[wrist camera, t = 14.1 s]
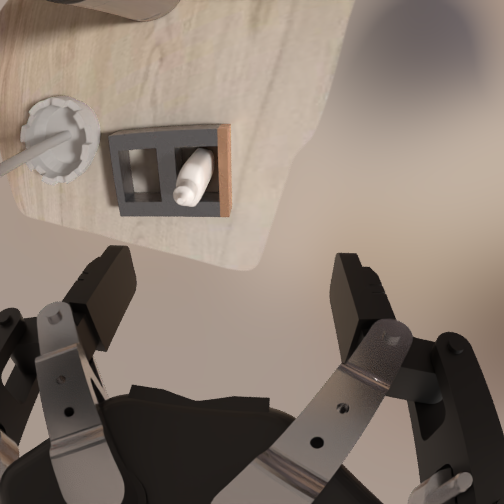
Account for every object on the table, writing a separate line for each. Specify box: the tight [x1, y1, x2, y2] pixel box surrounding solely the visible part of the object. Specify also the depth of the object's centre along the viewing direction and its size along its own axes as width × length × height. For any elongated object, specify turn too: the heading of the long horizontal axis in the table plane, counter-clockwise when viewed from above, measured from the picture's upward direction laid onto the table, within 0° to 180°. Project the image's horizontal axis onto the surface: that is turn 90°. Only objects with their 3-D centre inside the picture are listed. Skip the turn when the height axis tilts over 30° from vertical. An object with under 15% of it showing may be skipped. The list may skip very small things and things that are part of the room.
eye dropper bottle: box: [173, 148, 214, 207], centre depth 38 cm, size 4×6×12 cm
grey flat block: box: [108, 124, 232, 217], centre depth 41 cm, size 12×16×4 cm
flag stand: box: [0, 95, 101, 185], centre depth 27 cm, size 13×13×30 cm
